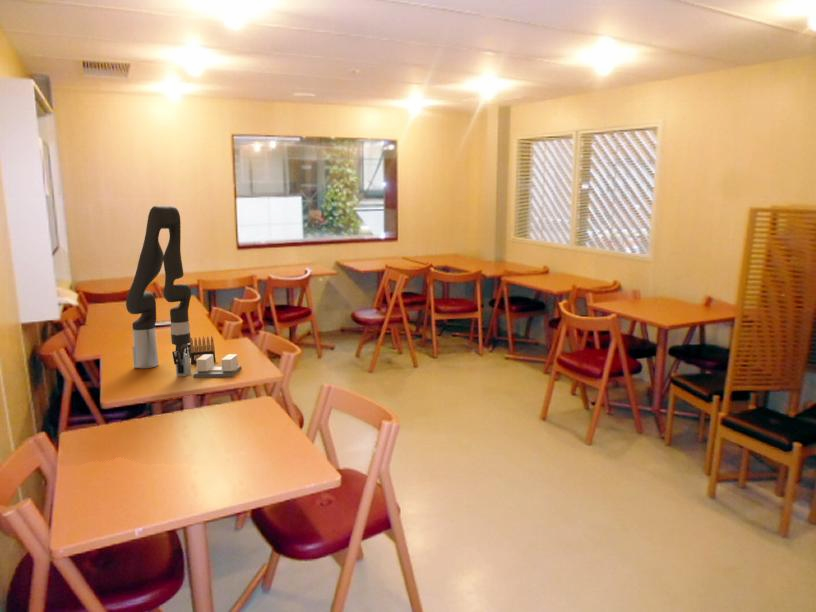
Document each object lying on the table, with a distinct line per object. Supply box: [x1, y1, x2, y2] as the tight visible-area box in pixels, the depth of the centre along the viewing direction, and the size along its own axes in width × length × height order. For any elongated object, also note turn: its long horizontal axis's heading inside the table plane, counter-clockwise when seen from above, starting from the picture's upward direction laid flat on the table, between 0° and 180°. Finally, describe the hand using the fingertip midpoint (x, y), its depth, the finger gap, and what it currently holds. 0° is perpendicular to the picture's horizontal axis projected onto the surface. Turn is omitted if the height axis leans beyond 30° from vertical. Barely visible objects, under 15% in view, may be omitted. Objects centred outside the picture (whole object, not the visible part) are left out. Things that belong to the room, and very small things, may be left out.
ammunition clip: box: [189, 335, 217, 365], centre depth 273 cm, size 11×2×12 cm, turn 108°
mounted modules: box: [196, 353, 239, 372], centre depth 255 cm, size 14×9×5 cm, turn 88°
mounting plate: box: [193, 365, 242, 379], centre depth 256 cm, size 16×13×2 cm
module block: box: [175, 355, 192, 377], centre depth 254 cm, size 4×5×8 cm
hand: (183, 371), depth 254 cm, fingers closed on module block, 5 cm apart
